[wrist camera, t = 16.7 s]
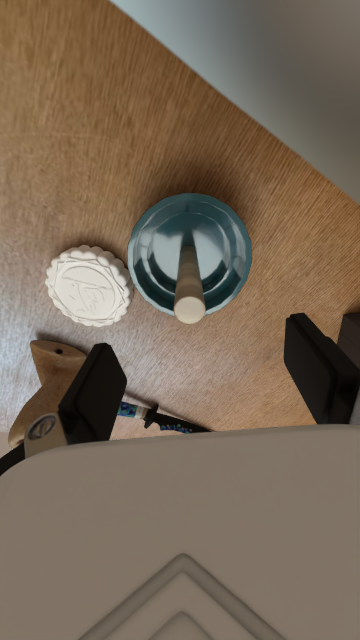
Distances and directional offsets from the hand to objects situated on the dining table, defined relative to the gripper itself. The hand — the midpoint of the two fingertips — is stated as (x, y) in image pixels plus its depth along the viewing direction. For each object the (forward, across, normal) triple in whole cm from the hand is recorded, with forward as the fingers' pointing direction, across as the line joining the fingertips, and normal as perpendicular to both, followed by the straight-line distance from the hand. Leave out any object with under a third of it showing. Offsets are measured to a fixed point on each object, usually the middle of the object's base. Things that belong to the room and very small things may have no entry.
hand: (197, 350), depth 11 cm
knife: (+22, +13, +35) cm, 43 cm away
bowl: (+22, +1, 0) cm, 22 cm away
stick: (+21, +1, 0) cm, 21 cm away
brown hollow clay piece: (+21, +28, +18) cm, 39 cm away
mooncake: (+22, +16, +2) cm, 27 cm away
